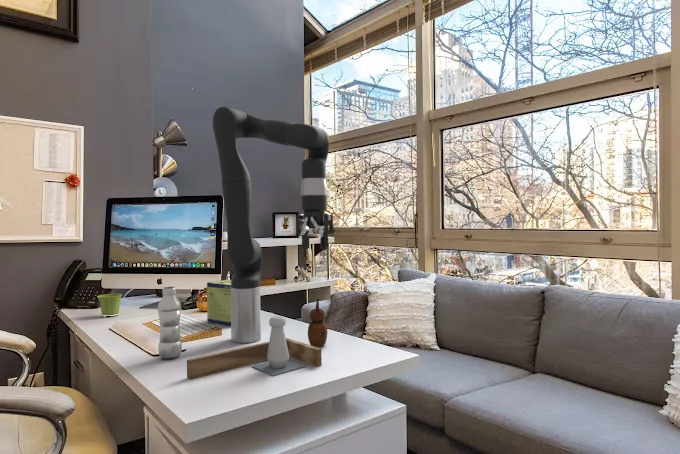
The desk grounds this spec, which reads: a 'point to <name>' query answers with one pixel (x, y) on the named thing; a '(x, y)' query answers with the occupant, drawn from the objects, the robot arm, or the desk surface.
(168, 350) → the plastic bottle
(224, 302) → the protein box
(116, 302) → the plant pot
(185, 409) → the desk surface
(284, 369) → the pad
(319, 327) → the wooden figurine
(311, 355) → the wooden l-shaped bracket
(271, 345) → the salt shaker
